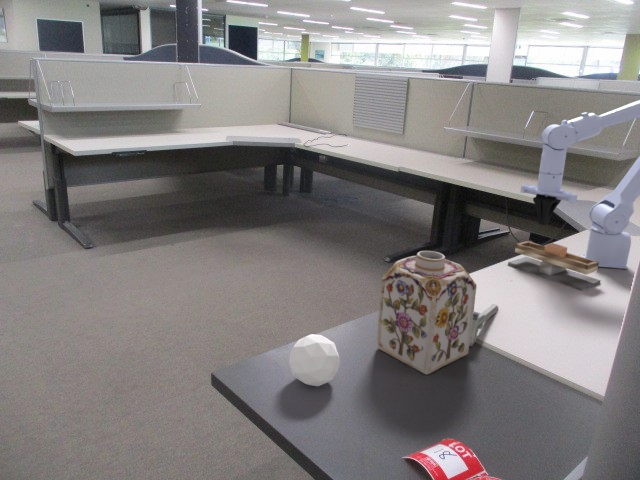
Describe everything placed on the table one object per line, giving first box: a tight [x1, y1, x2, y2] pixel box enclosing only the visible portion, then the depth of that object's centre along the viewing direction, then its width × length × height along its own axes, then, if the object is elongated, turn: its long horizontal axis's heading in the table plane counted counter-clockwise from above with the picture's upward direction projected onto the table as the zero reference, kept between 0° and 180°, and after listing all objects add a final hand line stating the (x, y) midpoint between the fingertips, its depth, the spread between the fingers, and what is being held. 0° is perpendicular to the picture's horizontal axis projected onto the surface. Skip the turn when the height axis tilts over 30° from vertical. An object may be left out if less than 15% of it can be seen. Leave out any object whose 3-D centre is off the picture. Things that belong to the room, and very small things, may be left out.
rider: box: [544, 242, 568, 257], centre depth 131 cm, size 4×3×2 cm
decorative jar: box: [376, 250, 477, 376], centre depth 90 cm, size 12×12×18 cm
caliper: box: [469, 303, 499, 347], centre depth 103 cm, size 20×1×6 cm, turn 150°
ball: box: [288, 333, 340, 387], centre depth 82 cm, size 8×8×8 cm
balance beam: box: [507, 240, 602, 291], centre depth 132 cm, size 20×8×6 cm, turn 36°
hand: (543, 224), depth 140 cm, fingers closed
